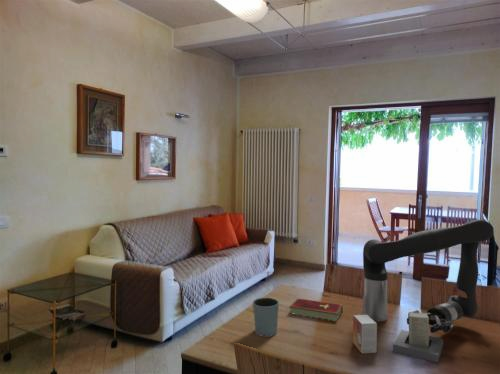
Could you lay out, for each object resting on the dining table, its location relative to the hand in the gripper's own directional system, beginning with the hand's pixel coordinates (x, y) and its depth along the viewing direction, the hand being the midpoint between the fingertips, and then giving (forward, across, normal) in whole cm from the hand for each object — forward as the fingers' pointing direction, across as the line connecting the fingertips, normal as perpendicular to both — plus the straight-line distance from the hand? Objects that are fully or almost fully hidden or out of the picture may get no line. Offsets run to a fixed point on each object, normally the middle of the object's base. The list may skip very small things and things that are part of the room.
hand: (419, 325), depth 128 cm
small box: (+16, -12, +8) cm, 21 cm away
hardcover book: (+5, -44, +9) cm, 46 cm away
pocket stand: (+1, 0, +8) cm, 8 cm away
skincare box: (+1, 0, +8) cm, 8 cm away
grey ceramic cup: (+36, -42, +8) cm, 56 cm away
